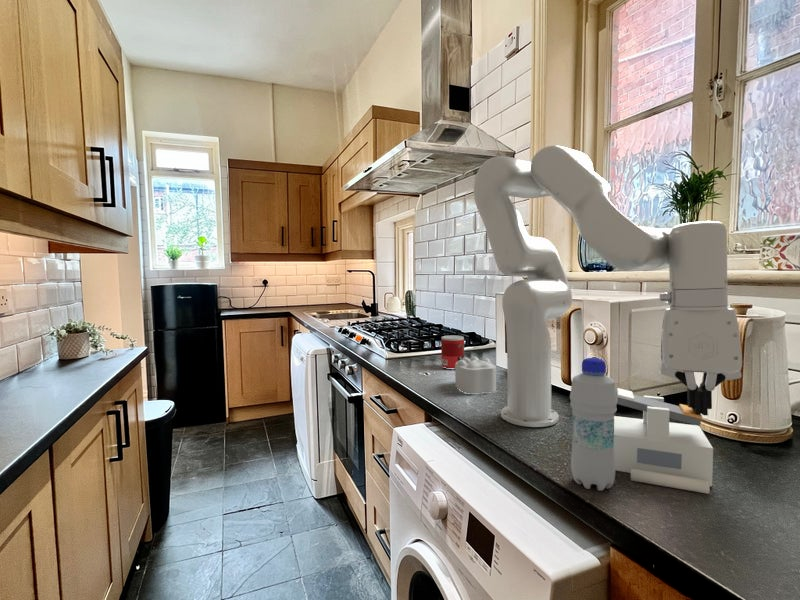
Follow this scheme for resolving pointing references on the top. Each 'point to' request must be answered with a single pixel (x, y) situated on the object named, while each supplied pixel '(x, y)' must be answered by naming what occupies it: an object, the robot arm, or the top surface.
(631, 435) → the box
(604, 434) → the bottle
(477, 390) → the lumpy-topped squat cylinder
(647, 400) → the lever
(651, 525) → the top surface
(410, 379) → the top surface
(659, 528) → the top surface
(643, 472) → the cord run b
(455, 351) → the canned food
